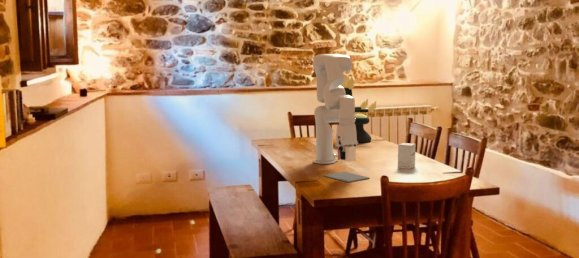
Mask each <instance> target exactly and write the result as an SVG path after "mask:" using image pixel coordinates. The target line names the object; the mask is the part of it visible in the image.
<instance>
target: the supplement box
mask: <svg viewBox="0 0 579 258" xmlns="http://www.w3.org/2000/svg"><path fill="white" fill-rule="evenodd" d="M397 145H398V146H397V149H398V150H397V168H398V169H406V170H407V169H408V170H411V169H412V168H415V167H416V147H417V146H416V143H412V142H411V143H410V142H409V143H408V142H402V143H399V144H397Z"/></svg>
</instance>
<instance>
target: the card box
mask: <svg viewBox="0 0 579 258" xmlns="http://www.w3.org/2000/svg"><path fill="white" fill-rule="evenodd" d="M339 146H340V145H339ZM342 147H343V146H342ZM356 147H357V146H356ZM356 147H355V146H349V145H345V151H344V152H345V160H342V159H340V151H339V149H338V148H337V154H338V157H337V160H338V161H344V162H347V163H349V162H356V160H357V159H356V158H357V157H356Z"/></svg>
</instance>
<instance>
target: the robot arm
mask: <svg viewBox="0 0 579 258" xmlns="http://www.w3.org/2000/svg"><path fill="white" fill-rule="evenodd" d="M312 67H313V70H314V73H315V78H316V100H317V102H319V103H321V104H324V105H319V106H317V107H315V109H314V112H313V114H314V120H315V158H314V159H313V160H312V162H313V163H314V164H321V165H329V164H330V165H331V164H335V163H337V160H336V159H335V158H338V153H334V146H335V148H336V149H337V150H338V149H339V151H340V159H342V160H345V152H344V151H345V145H349V146H355V147H357V145H358V144H359V143H358V141H357V134H356V126H355V121H356V120H355V114H356V112H355V107H356V104H355V103H356V102H355V97H353V96H352V97H351V96H350V95H346V92H345V89H344V87H342V86H341V85H342V84H343V83H344V81H345V77H346V76H345V77H344V75H345V74H344V72H345V73H346V72H351V71H352V69H353V61H352V59H351V57H350V56H349V55H347V54H343V53H321V54H316V55H315V56H314V57H313V60H312ZM331 123H339V124H338V125H337V128H336V136H335V144H334V130H333V128H332V126H331V125H330V124H331ZM339 145H340V146H339ZM342 146H343V147H342ZM342 160H341V161H342Z"/></svg>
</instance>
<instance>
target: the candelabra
mask: <svg viewBox="0 0 579 258" xmlns="http://www.w3.org/2000/svg"><path fill="white" fill-rule="evenodd" d="M344 77H345V81H344V83H343V84H342V85H341V86H342V87H344V89H345V92H346V95H350V96H351V97H353V90H352V89H354V88H356V86H355V85H354V84H355V80H354V78H353V76H350V78H349V76H348V75H347V74H346V75H345V74H344ZM368 101H369V99H368V98H367V99H365V100H364V101H363V102H362V103H361V104H360V106H355V120H356V121H355V126H356V134H357V141H358V144H359V143H361V144H362V143H369V142H371V141H372V137H371V135H370V134H369V132H368V131H366V129H364V125H367V124H369V122H370V118H369V117H368V116H367V115H366V114H364V113H375V112H374V110H375V109H376V108H377V101H376V100H375V101H374V103H373V102H372V103H371V104H370V105H369V102H368ZM368 105H369V107H368V108H367V109H366V107H367V106H368Z"/></svg>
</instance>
